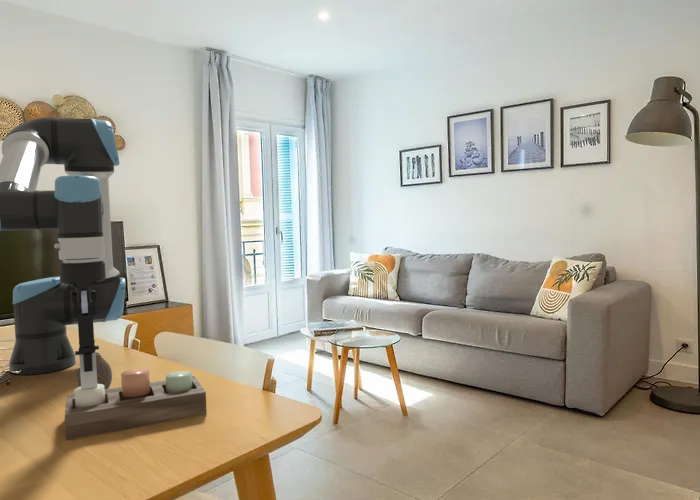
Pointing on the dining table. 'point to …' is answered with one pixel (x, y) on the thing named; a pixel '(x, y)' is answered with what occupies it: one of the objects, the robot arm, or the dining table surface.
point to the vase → (100, 372)
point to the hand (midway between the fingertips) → (89, 386)
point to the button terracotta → (135, 382)
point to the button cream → (89, 396)
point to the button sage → (178, 381)
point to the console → (133, 410)
